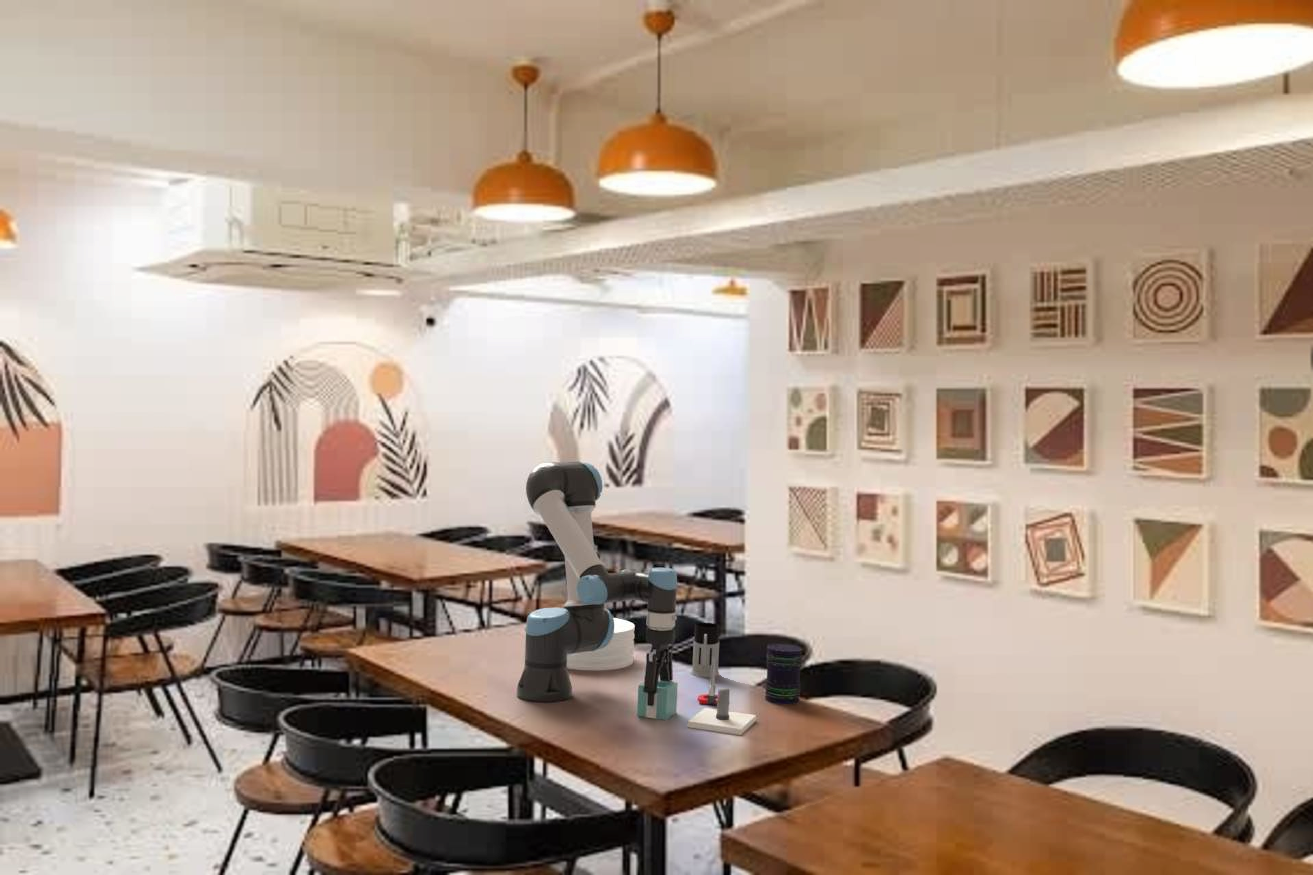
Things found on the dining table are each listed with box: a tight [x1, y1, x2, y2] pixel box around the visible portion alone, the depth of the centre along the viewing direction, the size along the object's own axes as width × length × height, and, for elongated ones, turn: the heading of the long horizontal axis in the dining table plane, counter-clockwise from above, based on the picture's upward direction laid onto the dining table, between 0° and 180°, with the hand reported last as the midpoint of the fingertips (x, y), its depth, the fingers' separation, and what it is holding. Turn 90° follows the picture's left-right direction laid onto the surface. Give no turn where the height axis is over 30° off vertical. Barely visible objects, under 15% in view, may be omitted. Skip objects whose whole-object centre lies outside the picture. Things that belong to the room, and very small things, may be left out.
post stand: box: [687, 687, 757, 736], centre depth 278 cm, size 14×14×9 cm
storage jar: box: [764, 643, 803, 706], centre depth 304 cm, size 10×10×15 cm
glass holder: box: [690, 622, 720, 678], centre depth 328 cm, size 9×14×15 cm, turn 174°
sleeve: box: [636, 679, 679, 721], centre depth 284 cm, size 8×8×8 cm
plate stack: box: [567, 617, 636, 671], centre depth 342 cm, size 28×28×12 cm
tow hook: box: [697, 658, 718, 706], centre depth 300 cm, size 8×13×9 cm
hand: (657, 713), depth 284 cm, fingers open, 8 cm apart
